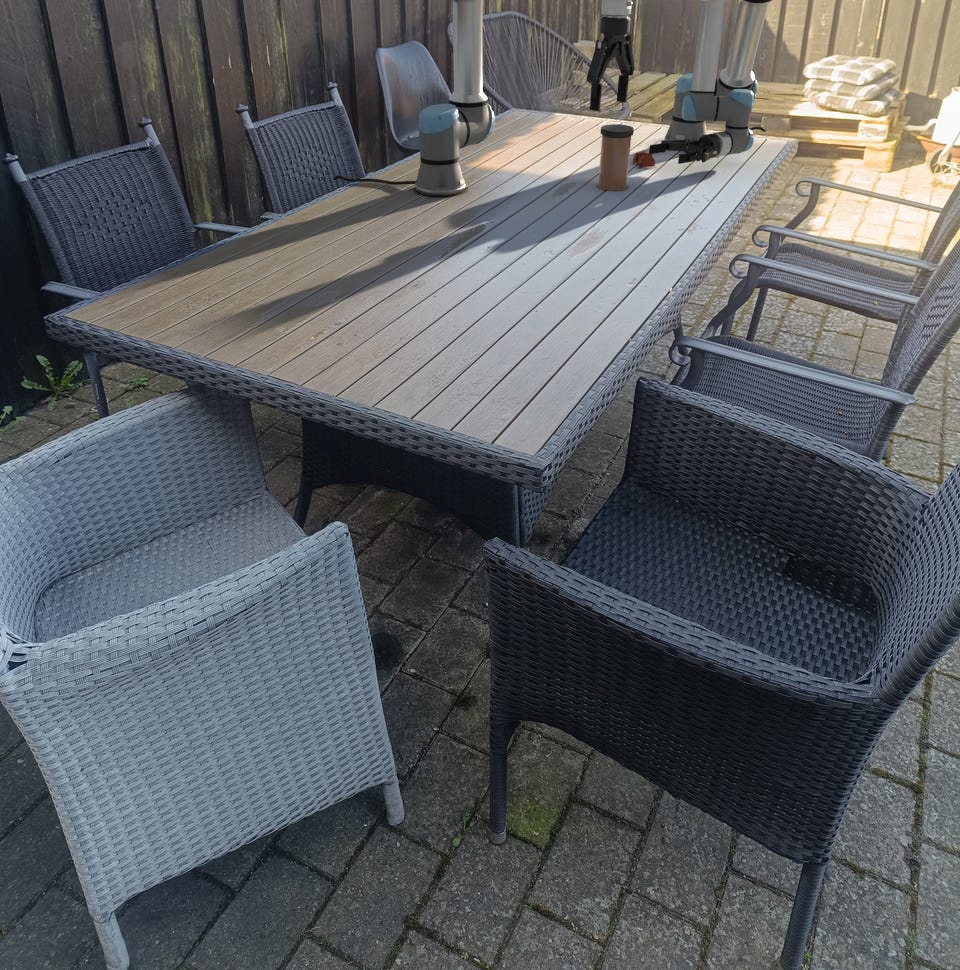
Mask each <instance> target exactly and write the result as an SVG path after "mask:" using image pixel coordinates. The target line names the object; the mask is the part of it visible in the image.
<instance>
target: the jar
mask: <svg viewBox="0 0 960 970" xmlns="http://www.w3.org/2000/svg"><path fill="white" fill-rule="evenodd" d="M631 142H632V136H630V137H625V138H612V137H606V136H603V135H601V143H600V144H601V145H600V157H599V169H598V182H597V187H598V188H599V189H601V190H604V191H611V192H613V191H614V192H615V191H618V192H619V191H623V190H625V189H626V188H627V183H628V174H629V164H630V163H629V162H630V154H631V153H630V152H631V144H632V143H631Z"/></svg>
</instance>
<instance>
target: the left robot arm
mask: <svg viewBox="0 0 960 970" xmlns="http://www.w3.org/2000/svg"><path fill="white" fill-rule="evenodd" d="M483 1H484V0H451V3H452V4H451V5H452V54H453V58H452V59H453V60H452V61H453V92H452V94H451V95H450V96H449V97H448V103H438V104H431V105H428V106H426V107H424V108H423V109H422V110H421V111H420V112H419V114H418V115H419V116H418V126H417V127H418V137H419V138H418V139H419V157H420V158H419V159H420V161H419V162H420V164H419V168H418V172H417V176H416V180H399V181H392V180H386V179H379V178H349V177H346V176H344V175H341V174H337V175H335V176H334V177H333V178H332V181H337V180H339V179H341V180H343V181H346V182H350V183H351V182H352V183H363V182H364V183H367V182H369V183H380V184H386V185H393V186H395V185H396V186H399V185H401V186H402V185H414V186H415V192H417V193H418V194H420V195H424V196H430V197H450V196H455V195H459V194H461V193H463V192H464V191H466V181H465V178H464V176H463V172H462V169H461V165H460V149H463V148H467V147H470V146H474V145H475V146H476V145H479V144H480V143H482V142H484V141H486V140H487V139H488V138H489V137H490V136H491V135H492V133H493V131H494V128H495V123H496V117H495V113H494V110H492V106H491V105H490V104H489V103H488V96H487V95H486V94H485V93H484V91H483V16H484V15H483V14H484V13H483V8H484V7H483V3H484V2H483ZM632 6H633V0H601V8H600V9H601V10H600V14H601V18H600V24H599V33H600V34H602V35H603V39H596V40H595V45H594V50H593V55H592V58H591V61H590V65H589V67H588V71H587V75H586V78H585V79H586V82H587V83H588V84H590V99H589V100H590V101H589V111H594V112H595V111H596V112H600V111H601V102H602V88H603V84H602V83H601V81H602V80H603V77H604V75H605V72H606V70H607V68H608V65H609V63H610V61H612V60H613V59H614V58H615V60H616V63H617V67H618V70H619V72H620V74H619V75H618V79H617V80H618V82H617V92H616V102H619V103H627V101H628V94H629V93H628V91H629V82H630V79H629V78H630V77H632V76H634V72H635V70H636V69H635V62H634V55H633V47H632V35H631V34H629V33H630V29H631V18H630V15H631V14H632Z"/></svg>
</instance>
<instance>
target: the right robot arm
mask: <svg viewBox="0 0 960 970" xmlns="http://www.w3.org/2000/svg"><path fill="white" fill-rule="evenodd" d="M699 1H700V3H701V4H700V9H699V17H698V26H697V27H698V28H697V35H696V42H695V43H696V44H695V51H694V60H693V68H692V72H691V73H685V74H683V75H681V76H680V77H678V79H677V81H676V85H675V89H674V102H673V107H672V108H673V109H672V118H671V123H670V124H669V127H668V129H667V131H666V134H665V136H664V139H663V140H661V141H660V143H654V144H650V145H649V150H648V153H649V154H652V155H656V154H660V153H663V154H664V153H666V151H668V152H683V153H680V154H678V160H677V164H679V165H682V164H687V163H693V162H701V163H706V162H708V161H710V160H711V159H714V158H716V159H719V158H720V157H724V156H729V155H739V154H741V153H744V152H747V151H749V150H750V149H752V147H753V145H754V142H755V137H754V132H753V131H754V130H760V131H761V132H763V133H766V129H765V128H764V127H762V126H752V127H750V122H751V116H752V110H753V107H754V106H753V105H754V103H755V100H756V98H757V97H756V96H757V92H758V80H757V79H756V77H755V74H754V72H753V69H754V64H755V60H756V55H757V51H758V47H759V43H760V39H761V35H762V31H763V26H764V22H765V18H766V15H767V11H768V6H769V3H771V2H772V1H773V0H740V1H739V6H738V10H737V15H736V20H735V24H734V30H733V32H732V33H733V34H732V39H731V42H730V47H729V51H728V56H727V61H726V65H725V68H723V69H721V70H720V73H719V76H718V77H717V75H718V67H719V61H720V60H719V59H720V52H721V45H722V37H723V30H724V22H725V16H726V7H727V2H728V1H729V0H699ZM706 122H720V123H721V122H723V123H724V122H725V126H724V128H725V129H724V131H717V132H713V133H707V127H706V126H707V125H706Z"/></svg>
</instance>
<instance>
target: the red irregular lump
mask: <svg viewBox="0 0 960 970" xmlns="http://www.w3.org/2000/svg"><path fill="white" fill-rule="evenodd" d="M632 164H637V167H638V168H649V167H655V166H656V160H655V158H654V157H653V154H649V152H646V151H645V150H641V151H638V152H636V153H634V155H633V157H632Z"/></svg>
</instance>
